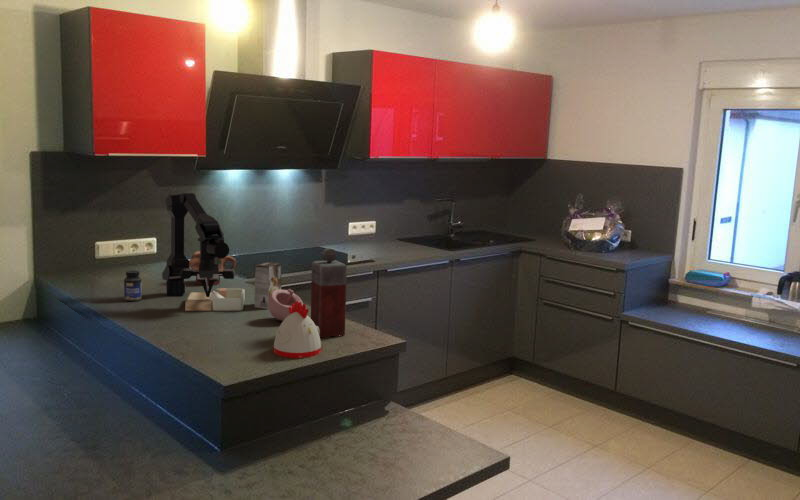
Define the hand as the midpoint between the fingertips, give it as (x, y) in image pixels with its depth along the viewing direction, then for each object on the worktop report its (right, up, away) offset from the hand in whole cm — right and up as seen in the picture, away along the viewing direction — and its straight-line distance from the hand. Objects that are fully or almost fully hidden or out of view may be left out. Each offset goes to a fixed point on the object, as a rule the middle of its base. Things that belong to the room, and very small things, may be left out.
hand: (208, 296), depth 249 cm
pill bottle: (-30, -2, +8) cm, 31 cm away
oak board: (-4, -3, +4) cm, 7 cm away
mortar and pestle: (+30, -8, -13) cm, 34 cm away
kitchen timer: (+40, -13, -47) cm, 63 cm away
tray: (+6, -4, +6) cm, 9 cm away
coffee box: (+20, -4, +7) cm, 22 cm away
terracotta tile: (+2, 0, +9) cm, 9 cm away
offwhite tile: (+2, -1, +1) cm, 3 cm away
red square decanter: (+46, -10, -26) cm, 54 cm away
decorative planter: (-11, +3, +45) cm, 46 cm away
